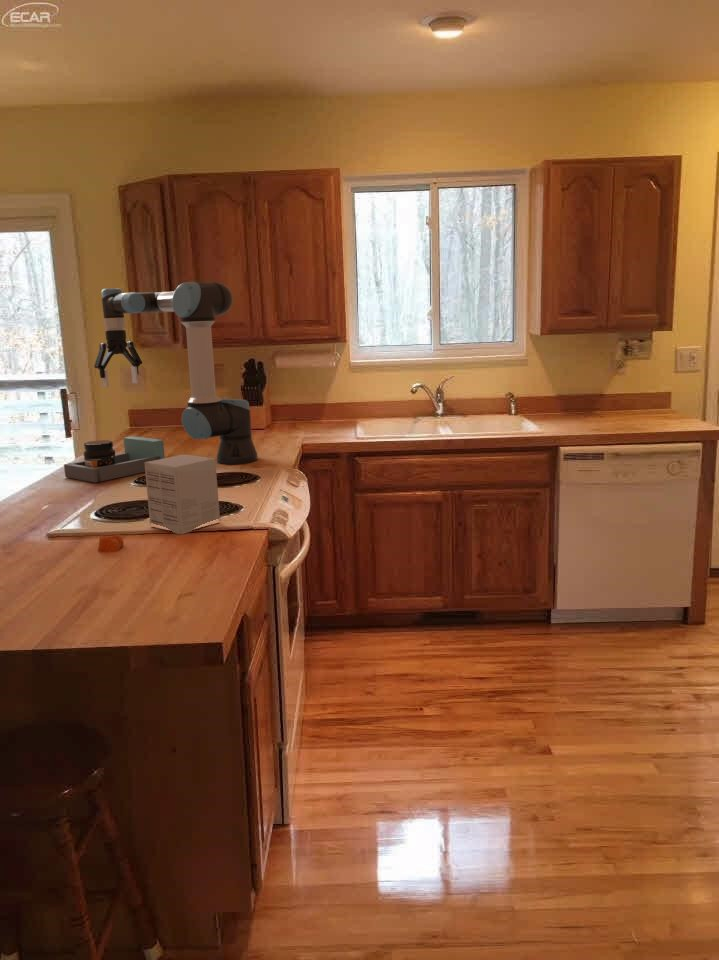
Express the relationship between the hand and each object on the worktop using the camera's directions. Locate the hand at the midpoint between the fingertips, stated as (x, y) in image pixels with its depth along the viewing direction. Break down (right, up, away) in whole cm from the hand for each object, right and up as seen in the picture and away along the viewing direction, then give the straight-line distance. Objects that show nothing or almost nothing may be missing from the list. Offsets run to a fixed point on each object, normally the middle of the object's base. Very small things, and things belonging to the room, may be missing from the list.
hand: (120, 384), depth 306 cm
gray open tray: (+7, -35, -29) cm, 46 cm away
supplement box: (+48, -49, -101) cm, 122 cm away
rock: (+34, -54, -119) cm, 135 cm away
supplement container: (+4, -36, -33) cm, 49 cm away
